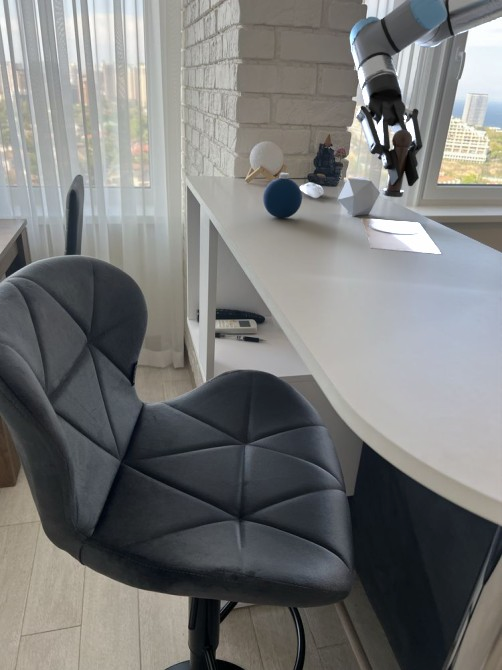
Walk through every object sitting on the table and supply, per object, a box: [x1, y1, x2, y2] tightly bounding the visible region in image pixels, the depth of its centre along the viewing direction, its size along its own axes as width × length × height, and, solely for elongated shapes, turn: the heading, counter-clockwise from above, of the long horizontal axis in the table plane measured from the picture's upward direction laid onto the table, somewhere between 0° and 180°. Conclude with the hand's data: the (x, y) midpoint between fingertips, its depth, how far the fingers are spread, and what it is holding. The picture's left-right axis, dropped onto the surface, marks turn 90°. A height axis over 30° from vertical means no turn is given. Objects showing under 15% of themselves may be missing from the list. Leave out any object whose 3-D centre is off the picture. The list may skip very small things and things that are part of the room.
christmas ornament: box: [262, 172, 303, 219], centre depth 109 cm, size 8×8×10 cm
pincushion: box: [299, 175, 324, 199], centre depth 134 cm, size 12×6×6 cm, turn 6°
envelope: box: [360, 217, 443, 255], centre depth 101 cm, size 13×24×1 cm, turn 173°
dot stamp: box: [382, 130, 412, 198], centre depth 101 cm, size 4×4×12 cm
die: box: [336, 176, 381, 217], centre depth 116 cm, size 8×9×10 cm
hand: (405, 181), depth 99 cm, fingers closed on dot stamp, 3 cm apart
